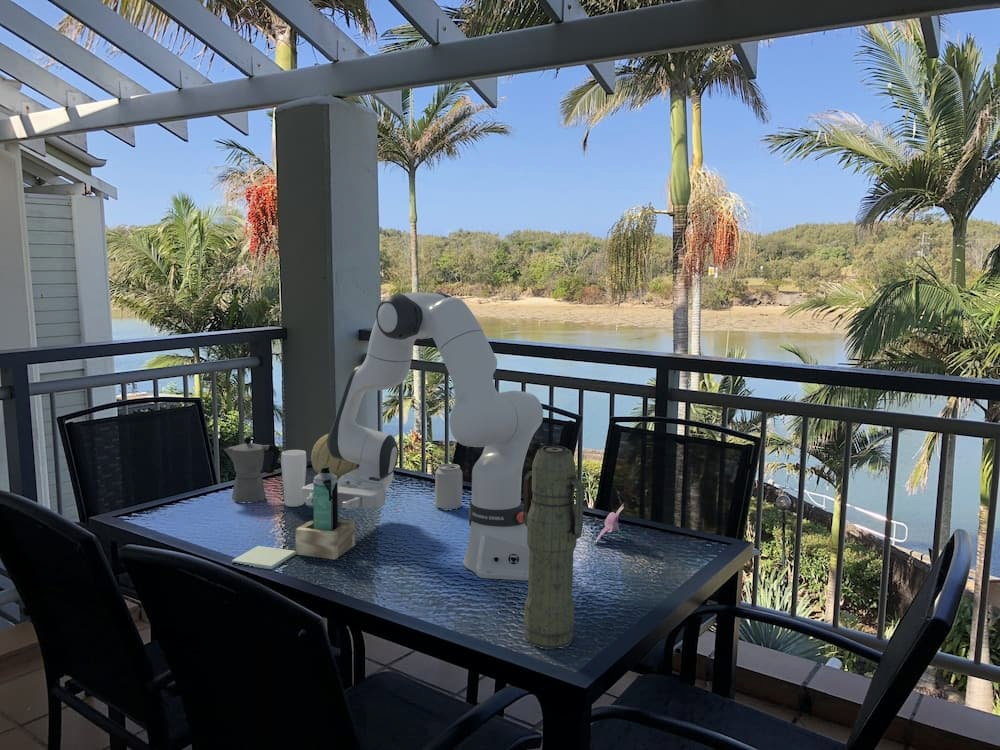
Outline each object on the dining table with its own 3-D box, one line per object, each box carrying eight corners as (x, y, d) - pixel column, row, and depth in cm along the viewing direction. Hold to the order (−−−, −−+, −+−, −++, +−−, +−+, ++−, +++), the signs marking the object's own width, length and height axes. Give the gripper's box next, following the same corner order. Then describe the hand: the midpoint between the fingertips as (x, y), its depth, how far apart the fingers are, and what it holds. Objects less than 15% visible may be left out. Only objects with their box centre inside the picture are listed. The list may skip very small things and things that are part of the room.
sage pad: (295, 554, 182) (295, 550, 182) (271, 569, 173) (271, 565, 172) (258, 549, 185) (258, 545, 185) (232, 563, 175) (231, 560, 175)
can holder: (355, 545, 189) (355, 521, 188) (334, 559, 179) (334, 534, 178) (317, 540, 192) (317, 516, 191) (295, 554, 182) (295, 529, 181)
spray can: (342, 549, 186) (342, 466, 183) (322, 555, 182) (322, 470, 179) (328, 544, 189) (328, 462, 187) (309, 549, 185) (308, 466, 183)
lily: (613, 534, 204) (596, 503, 203) (651, 526, 197) (633, 494, 195) (593, 561, 195) (575, 528, 194) (632, 554, 187) (614, 520, 186)
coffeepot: (222, 504, 219) (220, 440, 217) (227, 495, 228) (226, 434, 226) (279, 502, 222) (278, 440, 220) (282, 493, 231) (281, 433, 229)
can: (467, 506, 222) (467, 465, 221) (451, 513, 216) (452, 470, 214) (445, 502, 226) (446, 461, 225) (429, 508, 220) (430, 466, 218)
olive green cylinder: (531, 621, 149) (536, 440, 145) (588, 637, 143) (595, 448, 139) (507, 639, 142) (512, 448, 138) (566, 656, 136) (573, 458, 131)
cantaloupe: (301, 478, 248) (301, 432, 246) (339, 470, 259) (338, 425, 257) (331, 487, 238) (330, 439, 237) (368, 478, 250) (368, 432, 248)
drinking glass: (300, 509, 216) (299, 455, 214) (277, 507, 218) (276, 454, 216) (310, 502, 223) (310, 450, 221) (288, 500, 224) (288, 448, 222)
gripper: (317, 473, 200) (287, 486, 187) (391, 480, 194) (365, 495, 181) (317, 497, 201) (287, 512, 188) (391, 505, 195) (365, 521, 182)
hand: (326, 504), depth 184 cm, fingers open, 8 cm apart
